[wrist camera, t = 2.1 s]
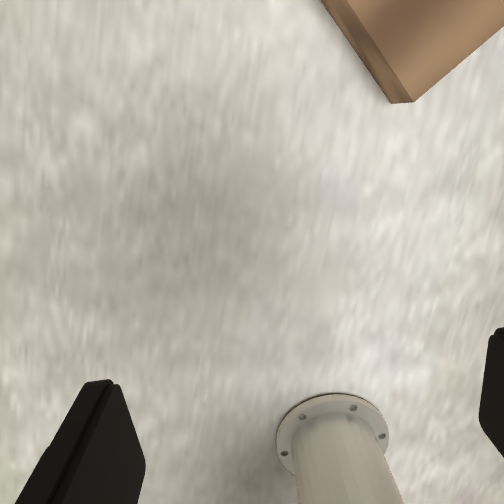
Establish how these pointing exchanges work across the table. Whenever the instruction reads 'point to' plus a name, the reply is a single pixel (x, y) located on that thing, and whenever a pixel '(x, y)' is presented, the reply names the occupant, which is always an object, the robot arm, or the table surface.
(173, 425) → the table surface
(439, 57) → the walnut plinth
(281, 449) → the robot arm
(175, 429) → the table surface
